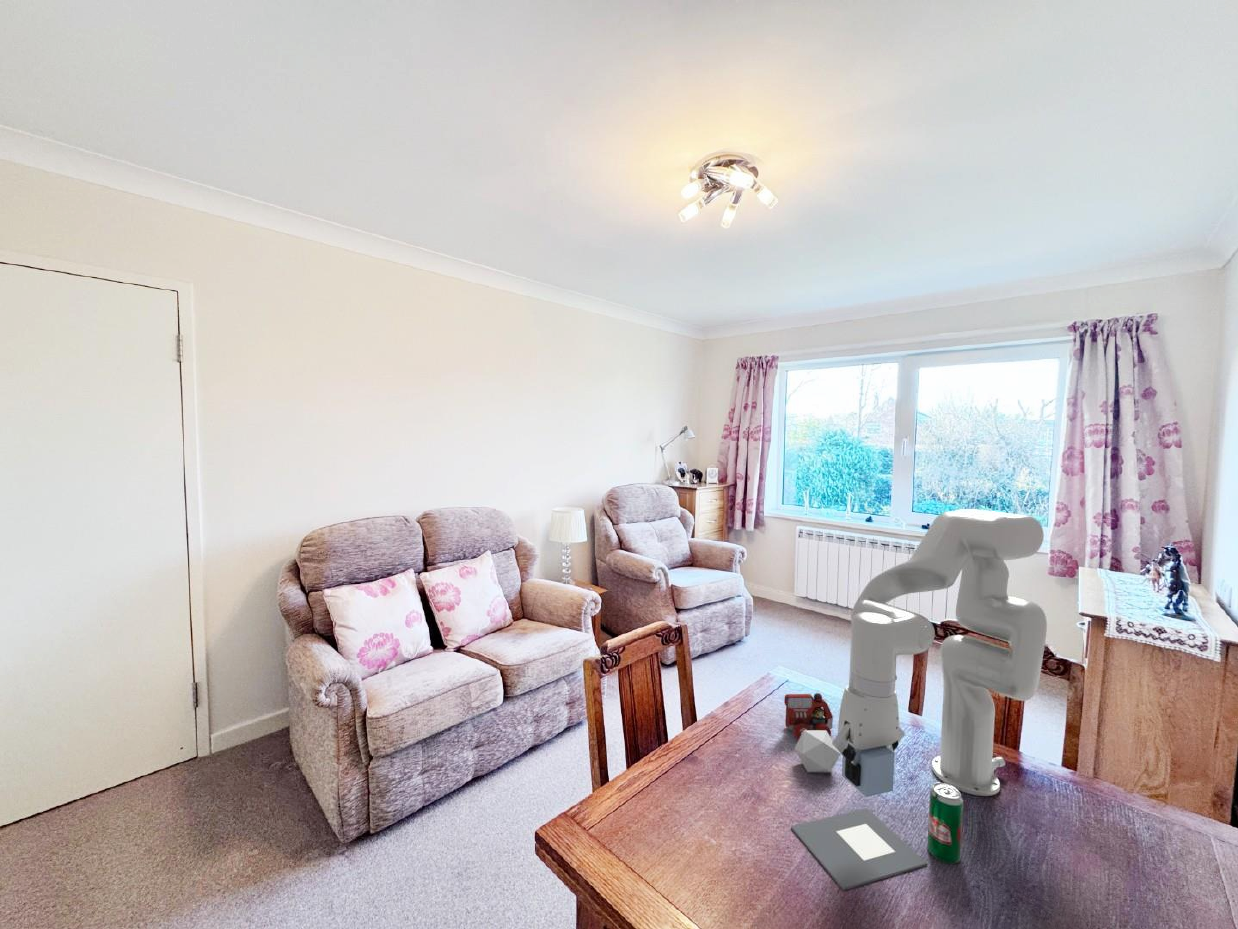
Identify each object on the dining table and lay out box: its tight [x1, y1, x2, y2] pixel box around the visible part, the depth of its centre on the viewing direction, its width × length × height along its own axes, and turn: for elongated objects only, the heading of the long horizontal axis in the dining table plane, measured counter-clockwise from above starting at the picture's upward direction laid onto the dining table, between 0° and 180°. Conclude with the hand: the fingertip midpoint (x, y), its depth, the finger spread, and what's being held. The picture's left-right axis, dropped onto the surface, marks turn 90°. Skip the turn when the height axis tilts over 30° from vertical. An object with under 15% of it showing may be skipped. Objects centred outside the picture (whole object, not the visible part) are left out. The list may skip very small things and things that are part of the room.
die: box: [794, 730, 841, 773], centre depth 116 cm, size 8×9×10 cm
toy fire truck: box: [784, 692, 834, 741], centre depth 129 cm, size 7×12×10 cm, turn 94°
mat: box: [790, 807, 928, 891], centre depth 94 cm, size 18×14×1 cm
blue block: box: [841, 743, 896, 798], centre depth 94 cm, size 6×6×7 cm
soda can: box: [926, 782, 964, 864], centre depth 92 cm, size 5×5×12 cm
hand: (867, 777), depth 94 cm, fingers closed on blue block, 6 cm apart
